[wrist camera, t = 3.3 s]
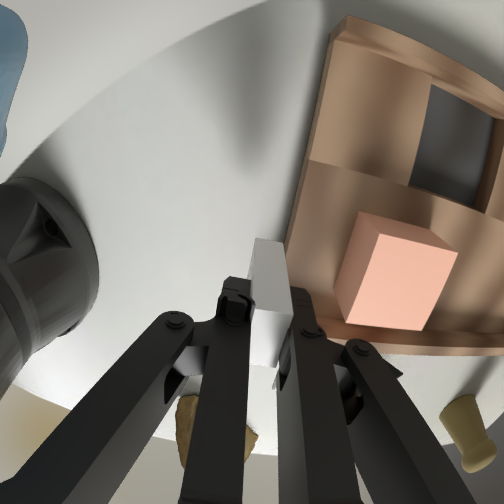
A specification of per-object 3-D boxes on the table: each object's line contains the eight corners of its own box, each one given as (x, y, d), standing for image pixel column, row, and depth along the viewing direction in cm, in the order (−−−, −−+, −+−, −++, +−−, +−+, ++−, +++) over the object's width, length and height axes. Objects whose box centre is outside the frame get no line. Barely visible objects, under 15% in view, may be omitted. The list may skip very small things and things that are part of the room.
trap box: (268, 305, 25) (270, 356, 19) (330, 33, 16) (355, 6, 11) (499, 331, 26) (524, 363, 21) (564, 161, 18) (602, 176, 12)
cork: (477, 388, 31) (508, 446, 21) (470, 410, 33) (495, 464, 23) (442, 405, 32) (469, 468, 22) (436, 425, 34) (459, 483, 24)
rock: (146, 404, 28) (168, 458, 31) (181, 459, 21) (202, 506, 24) (234, 369, 34) (241, 424, 37) (282, 408, 27) (282, 463, 30)
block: (333, 289, 22) (345, 322, 18) (358, 211, 19) (379, 233, 16) (401, 299, 22) (421, 330, 19) (430, 229, 20) (458, 252, 16)
